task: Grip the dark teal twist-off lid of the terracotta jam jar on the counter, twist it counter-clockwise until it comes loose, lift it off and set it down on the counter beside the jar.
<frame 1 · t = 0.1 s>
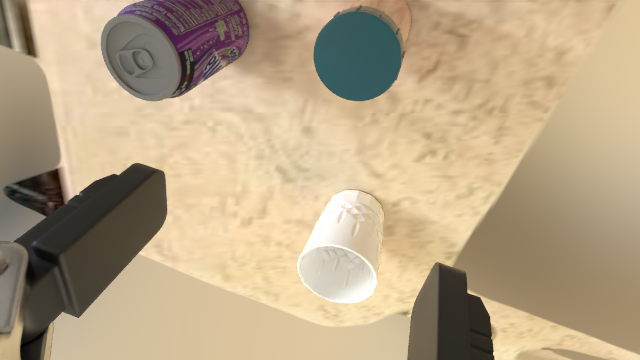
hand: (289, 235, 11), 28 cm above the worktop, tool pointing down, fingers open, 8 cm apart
white cup: (355, 211, 46), on the worktop
jam jar: (380, 21, 34), on the worktop
beverage can: (219, 23, 38), on the worktop
jar lid: (357, 57, 25), point 11 cm above the worktop, screwed on, not yet turned
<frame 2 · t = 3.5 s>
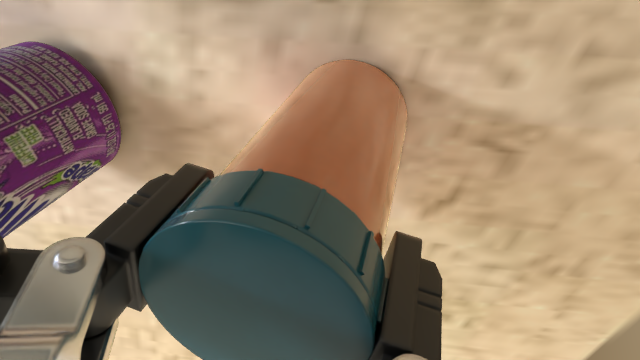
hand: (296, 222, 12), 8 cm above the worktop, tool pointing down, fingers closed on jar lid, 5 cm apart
jam jar: (348, 117, 18), on the worktop
beverage can: (75, 102, 22), on the worktop
jar lid: (256, 305, 9), point 11 cm above the worktop, screwed on, not yet turned, touching gripper
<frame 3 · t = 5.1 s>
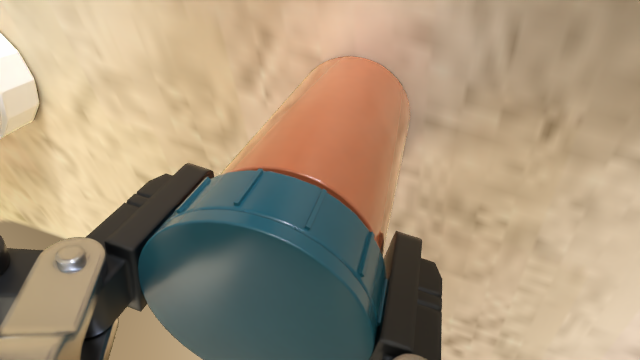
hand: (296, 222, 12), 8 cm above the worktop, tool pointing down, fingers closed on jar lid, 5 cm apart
jam jar: (351, 113, 18), on the worktop
jar lid: (256, 305, 9), point 11 cm above the worktop, turned 87° so far, risen 0.2 cm, still on its thread, touching gripper
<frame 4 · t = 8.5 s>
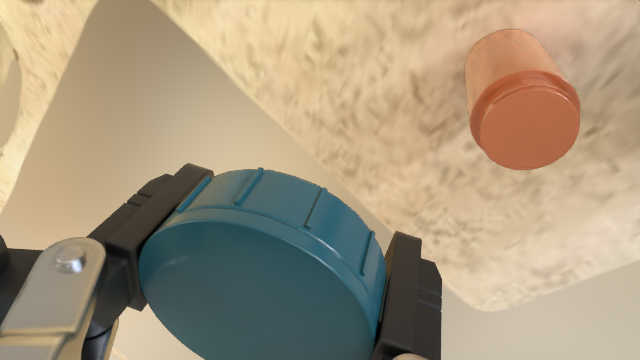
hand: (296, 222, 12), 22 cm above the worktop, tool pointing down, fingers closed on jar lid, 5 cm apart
jam jar: (503, 67, 28), on the worktop
jar lid: (256, 304, 9), point 25 cm above the worktop, off its thread, touching gripper
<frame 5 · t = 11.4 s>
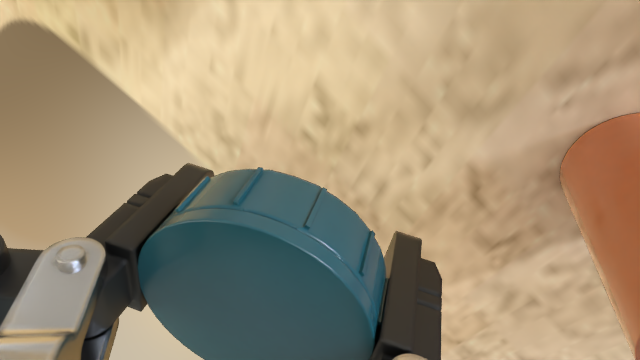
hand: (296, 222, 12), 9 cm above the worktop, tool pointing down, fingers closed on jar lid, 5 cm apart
jam jar: (628, 168, 17), on the worktop
jar lid: (256, 304, 9), point 12 cm above the worktop, off its thread, touching gripper
when the fingers open (2 cm above the worktop, at t = 13.8 s): jar lid drops 4 cm, point 1 cm above the worktop.
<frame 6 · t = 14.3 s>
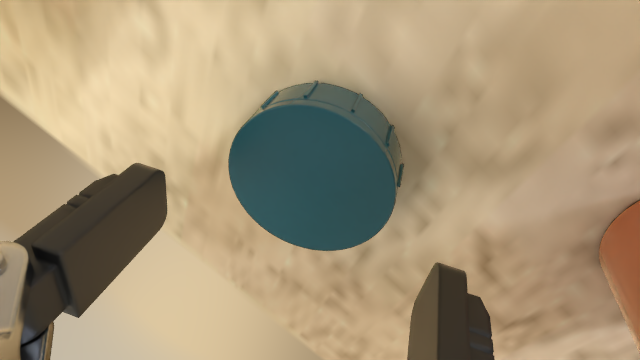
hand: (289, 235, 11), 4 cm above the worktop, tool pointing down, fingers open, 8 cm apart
jar lid: (311, 179, 13), point 1 cm above the worktop, off its thread
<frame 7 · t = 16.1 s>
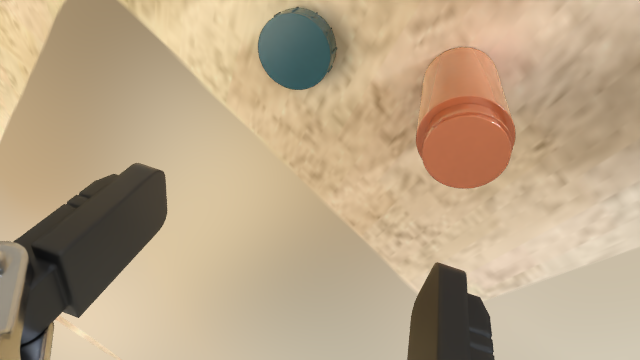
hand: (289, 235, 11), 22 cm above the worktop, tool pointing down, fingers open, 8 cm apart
jam jar: (459, 82, 29), on the worktop
jar lid: (295, 52, 29), point 1 cm above the worktop, off its thread
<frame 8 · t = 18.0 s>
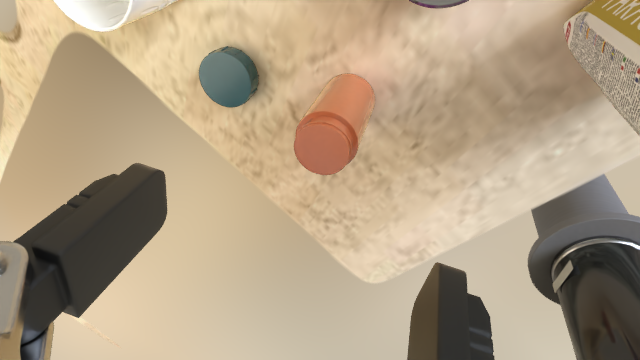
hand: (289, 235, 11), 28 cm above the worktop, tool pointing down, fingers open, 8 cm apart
jam jar: (348, 99, 39), on the worktop
jar lid: (226, 79, 39), point 1 cm above the worktop, off its thread
juice carton: (630, 28, 30), on the worktop
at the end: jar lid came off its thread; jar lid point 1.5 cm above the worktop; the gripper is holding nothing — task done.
